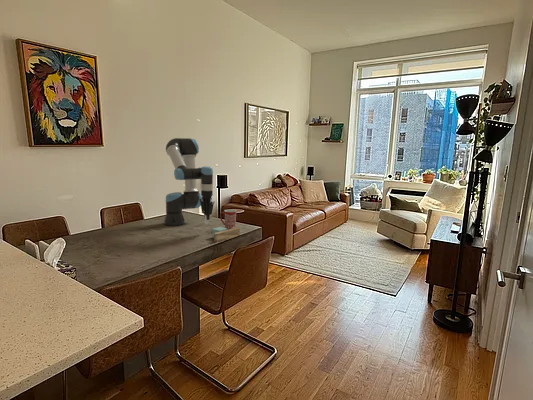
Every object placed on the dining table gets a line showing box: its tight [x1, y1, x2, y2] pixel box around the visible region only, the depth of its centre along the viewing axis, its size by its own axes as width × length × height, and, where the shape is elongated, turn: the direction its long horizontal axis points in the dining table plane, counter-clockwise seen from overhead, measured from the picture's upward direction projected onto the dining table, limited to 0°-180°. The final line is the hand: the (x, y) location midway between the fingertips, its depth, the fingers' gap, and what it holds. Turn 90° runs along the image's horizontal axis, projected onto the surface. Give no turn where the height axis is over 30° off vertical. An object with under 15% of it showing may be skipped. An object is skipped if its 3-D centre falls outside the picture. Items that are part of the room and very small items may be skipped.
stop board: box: [213, 226, 241, 243], centre depth 207 cm, size 5×20×5 cm, turn 141°
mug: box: [219, 209, 238, 230], centre depth 230 cm, size 13×9×14 cm
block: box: [211, 226, 227, 239], centre depth 208 cm, size 7×7×6 cm
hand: (206, 223), depth 216 cm, fingers closed
